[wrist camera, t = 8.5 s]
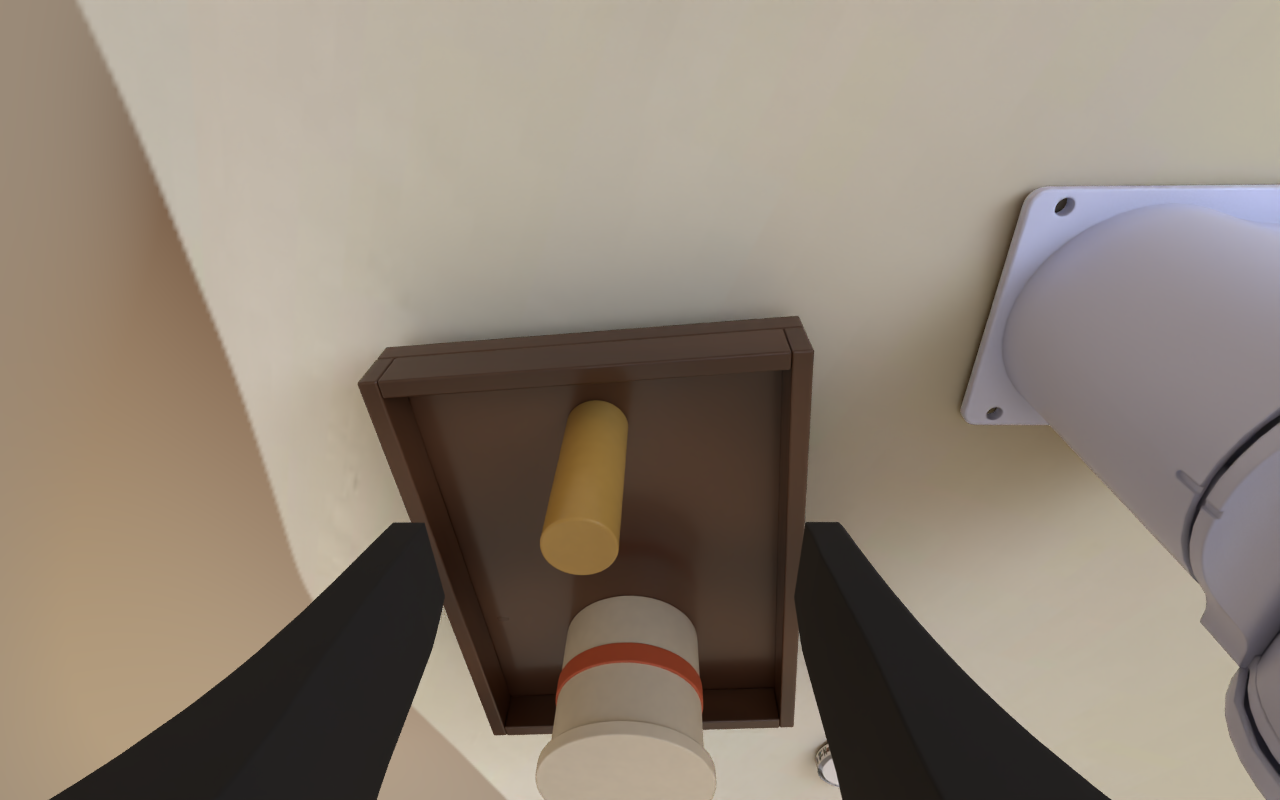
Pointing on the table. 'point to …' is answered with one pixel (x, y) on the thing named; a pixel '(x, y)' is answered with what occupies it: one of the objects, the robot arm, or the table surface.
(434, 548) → the tray
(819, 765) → the white bottle cap
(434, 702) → the table surface
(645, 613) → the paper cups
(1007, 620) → the table surface
